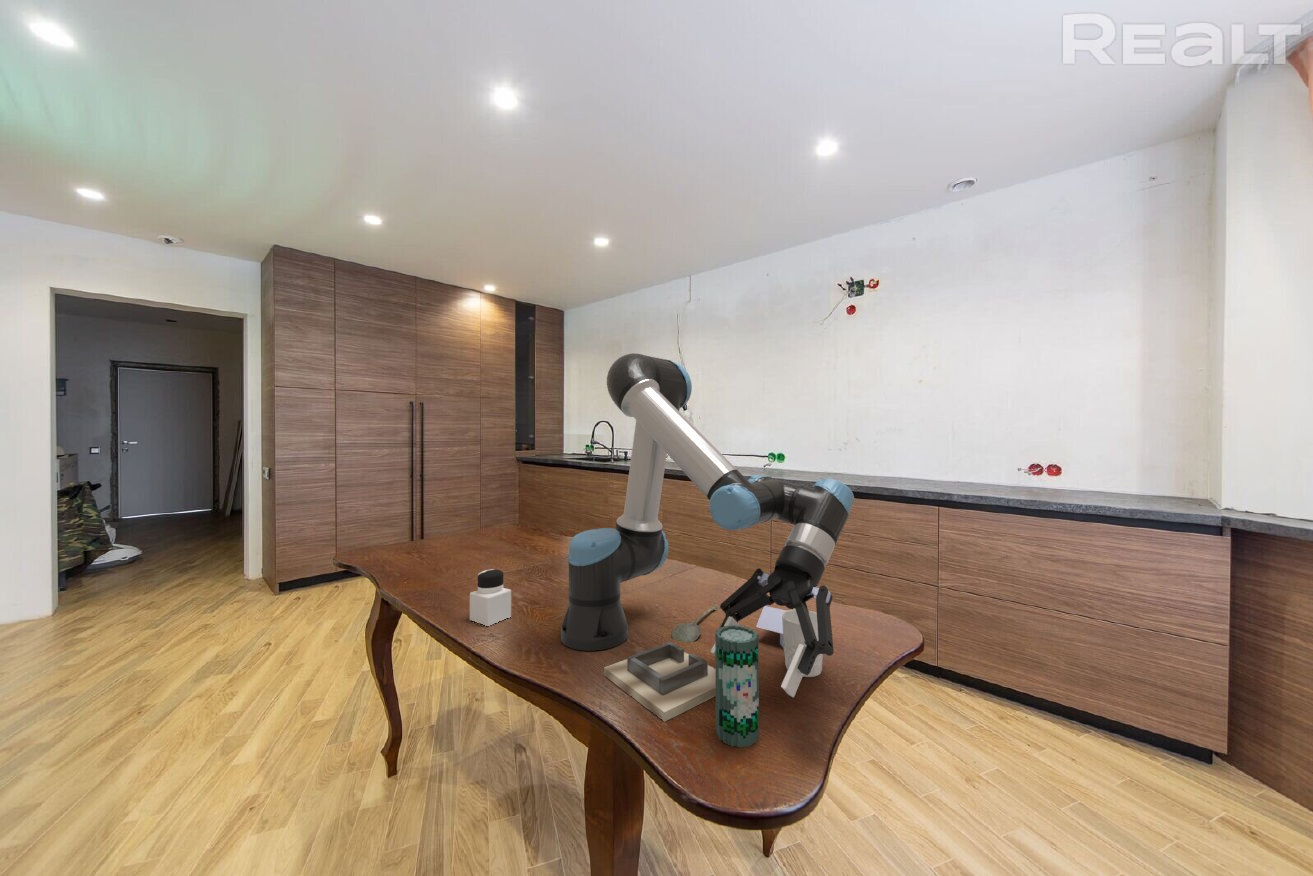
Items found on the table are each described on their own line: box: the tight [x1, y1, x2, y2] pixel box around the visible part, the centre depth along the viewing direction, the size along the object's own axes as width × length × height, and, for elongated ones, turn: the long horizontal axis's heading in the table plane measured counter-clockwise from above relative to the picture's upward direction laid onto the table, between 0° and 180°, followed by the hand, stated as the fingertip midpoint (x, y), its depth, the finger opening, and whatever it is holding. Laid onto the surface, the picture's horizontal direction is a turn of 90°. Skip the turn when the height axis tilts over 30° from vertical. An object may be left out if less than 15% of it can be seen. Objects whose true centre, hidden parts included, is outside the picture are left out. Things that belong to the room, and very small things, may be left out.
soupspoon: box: [671, 604, 719, 644], centre depth 108 cm, size 22×3×7 cm
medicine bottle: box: [469, 568, 512, 627], centre depth 112 cm, size 7×7×12 cm
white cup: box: [782, 609, 824, 678], centre depth 87 cm, size 8×8×10 cm
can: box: [714, 625, 760, 748], centre depth 68 cm, size 6×6×15 cm
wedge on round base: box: [755, 605, 787, 649], centre depth 98 cm, size 9×7×13 cm
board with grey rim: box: [603, 641, 716, 723], centre depth 82 cm, size 18×16×4 cm
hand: (748, 673), depth 68 cm, fingers open, 13 cm apart
